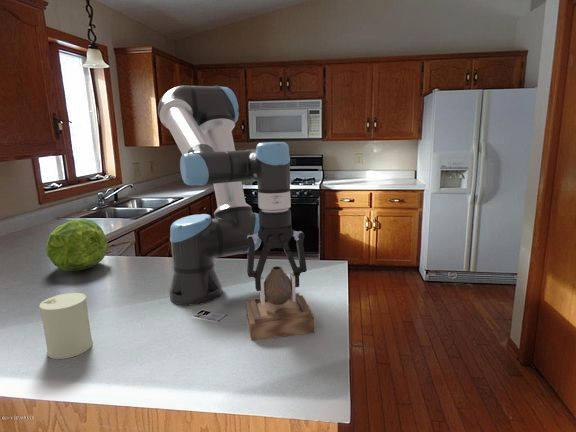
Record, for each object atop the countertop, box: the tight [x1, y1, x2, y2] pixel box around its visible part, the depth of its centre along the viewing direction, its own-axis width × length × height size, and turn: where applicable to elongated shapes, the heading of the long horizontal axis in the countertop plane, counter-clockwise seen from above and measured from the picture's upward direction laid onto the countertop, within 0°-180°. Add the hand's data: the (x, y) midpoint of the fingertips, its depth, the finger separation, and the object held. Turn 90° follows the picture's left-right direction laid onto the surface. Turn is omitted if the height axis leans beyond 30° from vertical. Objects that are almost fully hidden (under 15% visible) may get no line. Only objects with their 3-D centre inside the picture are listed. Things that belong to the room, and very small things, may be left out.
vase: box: [264, 265, 292, 305], centre depth 98 cm, size 7×7×9 cm
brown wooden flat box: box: [245, 292, 315, 341], centre depth 99 cm, size 15×13×5 cm
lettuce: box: [45, 218, 109, 272], centre depth 144 cm, size 19×23×18 cm
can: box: [38, 292, 94, 360], centre depth 90 cm, size 9×9×12 cm
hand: (277, 300), depth 98 cm, fingers closed on vase, 7 cm apart
